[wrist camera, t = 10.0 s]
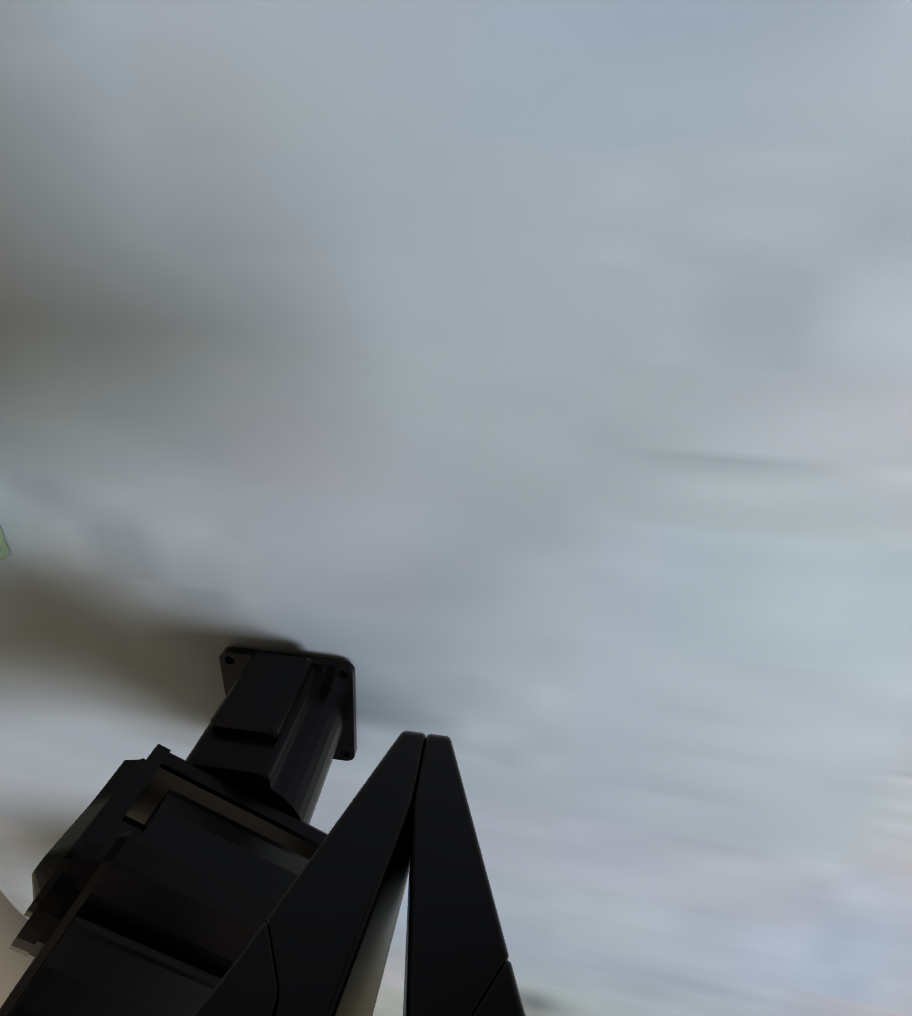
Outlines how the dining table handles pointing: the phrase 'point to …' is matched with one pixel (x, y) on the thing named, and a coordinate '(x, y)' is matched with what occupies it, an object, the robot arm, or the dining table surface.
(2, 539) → the deck
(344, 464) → the dining table surface
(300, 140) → the dining table surface
